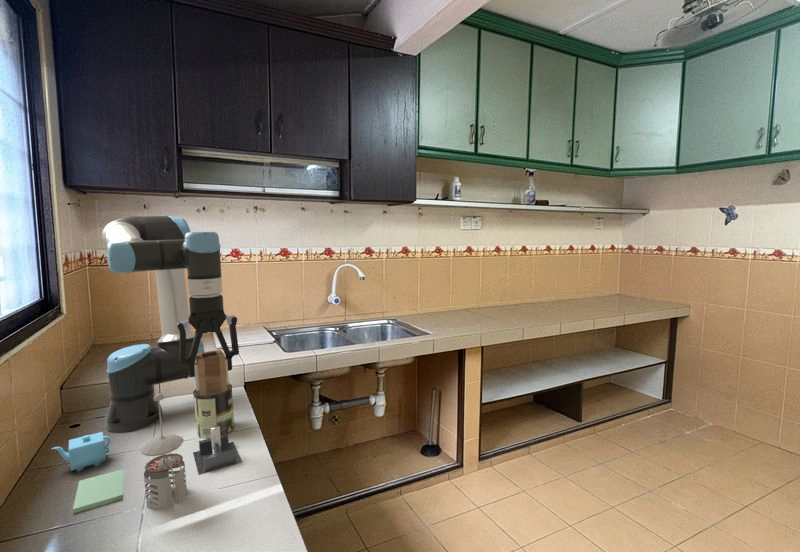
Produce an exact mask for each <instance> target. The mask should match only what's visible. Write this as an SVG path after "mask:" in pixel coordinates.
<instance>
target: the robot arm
mask: <svg viewBox="0 0 800 552" xmlns="http://www.w3.org/2000/svg"><path fill="white" fill-rule="evenodd" d="M100 235H101V236H100V237H101V242H102V244H103V245H104V247H105V248H106V254H107V255H106V256H107V265H108V268H109V270H110V272H111V273H114V274H117V273H118V274H119V273H125V274H130V273H136V272H150V271H151V272H153V271H154V274H155V282H156V291H157V301H158V310H159V319H160V329H161V337H160V338H159V339H158V340H157V342H156V344H157V346H156V347H152V346H151V345H150V344H147V343H141V344H133V345H130V346H125V347H123V348H120V349H118V350H116V351H114V352H112V353H111V354H110V355H109V356H108V357H107V361H106V362H107V363H106V365H107V369H106V373H107V374H108V376H107V377H108V387H109V397H110V398H109V399H110V403H109V406H108V410H107V413H106V417H105V422H104V423H105V429H106V430H107V431H109V432H113V433H125V432H132V431H137V430H142V429H145V428H147V427H150V426H152V425H154V424H156V423H157V422H160V416H159V404H158V401H154V396H155V395H156V394H155V385H161V384H166V383H169V382H174V381H179V380H187V379H189V378H194V390H195V389H196V391H198V390H200V389H199V374H198V364H197V362H196V355H197V353H202V352H205V346H204V342H203V341H202V337H203V334H208V333H215V335H216V337H217V339H218V342H219V344H220V347H221V348H222V349H221V350H222V352H223V353H224V355H225V364H226V380H227V385H228V384H230V382H229V380H230V379H229V371H232V369H233V360H232V359H233V357H234V356H238V355H239V354H240V349H239V340H238V335H237V334H238V332H237V327H236V326H237V323H238V318H237V316H235V315H234V314H233V315H227V314H226V313H225V310H224V296H223V295H222V293H223V282H222V281H223V280H222V262H221V243H220V238H219V234H218V233H217V232H215V231H191V228H190V227H189V224H188V222H187V220H186V219H184V218H183V217H180V216H171V215H164V216H160V215H157V216H156V215H155V216H152V215H150V216H149V215H147V216H146V215H143V216H142V215H140V216H139V215H138V216H137V215H132V216H124V217H121V218H120V217H119V218H118V219H117V218H116V219H115V220H112V221H110V222H109V223H107V224H106V225H105V226H104V228H102V231H101V234H100ZM185 269H186V271H187V273H186V272H185ZM186 274H187V281H186ZM188 294H189V296H190V297H189V298H188ZM225 321H226V323H227V325H228V328H229V329H228V330H229V335H230V336H229V337H230V342H231V343H230V345H231V350H230V347H229V346H228V343H227V341H226V339H225V337H224V334H223V331H222V329H221V327H222V325H223V324H224V323H225ZM191 327H193V329H195V330H194V331H195V332H192V328H191ZM160 412H161V419H162V417H163V415H164V413H163V412H164V411H163V407H162V405H161V404H160Z"/></svg>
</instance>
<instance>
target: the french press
mask: <svg viewBox="0 0 800 552" xmlns="http://www.w3.org/2000/svg"><path fill="white" fill-rule="evenodd" d="M164 399H165V398H164V394H163V393H157V394H155V396H154V401H158V404H159V416H160V420H159V425H160V435H159V436H156V437H153V438H151V439H149V440H148V441H147V442H145V443H144V444H143V445H142V446H141V448H140V449H139V450H140V453H141V454H142V455H143V456H146V457H154V458H152V459H150V460H149V461H148V462H147V463H145V466H144V469H145V471H144V472H143V482H144V483H145V484H144V489H145V490H144V492H145V495H146V496H145V504H146V508H149V509H152V510H163V509H168V508H172V507H173V505H174V504H173V493H172V492H173V491H175V503H176V504H179V503H180V502H182V501H183V500H184V498H186V496H187V493H188V489H187V477H186V476H187V475H186V464H185V461H184V460H183V459H184V458H183V456H182V455H181V454H179V453H172V452H174V451H176V450H177V449H179V447H181V446H182V444H183V443H184V441H185V439H184V437H183V436H181V435H177V434H163V427H162V426H163V425H162V418H161V412H160V405H161V401H163V400H164ZM178 468H179V470H173V469H178ZM170 475H171V476H170ZM171 480H172V481H171ZM174 489H175V490H174ZM156 493H157V494H156ZM152 497H154V498H152ZM155 498H156V499H155ZM148 501H149V502H148ZM150 502H152V503H150ZM153 503H154V504H153ZM155 503H156V504H158V505H156V504H155Z"/></svg>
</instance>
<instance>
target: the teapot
mask: <svg viewBox="0 0 800 552" xmlns="http://www.w3.org/2000/svg"><path fill="white" fill-rule="evenodd" d="M105 439H107V440H108V441H107V443H106V444H105ZM111 441H112V438H111V437H110V436H109V435H104V432H103V431H99V432H97V433H96V432H95V433H92V434H85V435H83V436H80V437H76V438H72V439H69V440H68V452H66V451H65V450H64V448H63V447H62V446H53V447H52V448H51V450H56V451H58V452H59V454H60V455H61V457H62V458H63V460H65V461H68V462H69V467H70V471H71V472H72V471H74V470H76V472H80V471H83V470H84V469H85V467H88V466H94V467H97V466H100V465H102V463H103V462H106V461H107V458H106V456H107V455H106V454H109V452H110V448H109V446H110V443H111Z"/></svg>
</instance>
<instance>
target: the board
mask: <svg viewBox="0 0 800 552" xmlns="http://www.w3.org/2000/svg"><path fill="white" fill-rule="evenodd" d="M125 470H126V469H125V468H122V469H120V470H119V469H118V470H115V471H111V472H108V473H105V474H100V475H97V476H92V477H89V478H88V477H87V478H84V479H82V480H79V481H78V485H77V490H76V493H75V497H74V502H73V507H72V514H77V513H80V512H83V511H84V512H85V511H87V510H90V509H94V508H97V507H101V506H104V505H108V504H110V503H114V502H117V501H120V500H123V499H124V490H125V489H124V488H125V487H124V486H125V472H126V471H125Z"/></svg>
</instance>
